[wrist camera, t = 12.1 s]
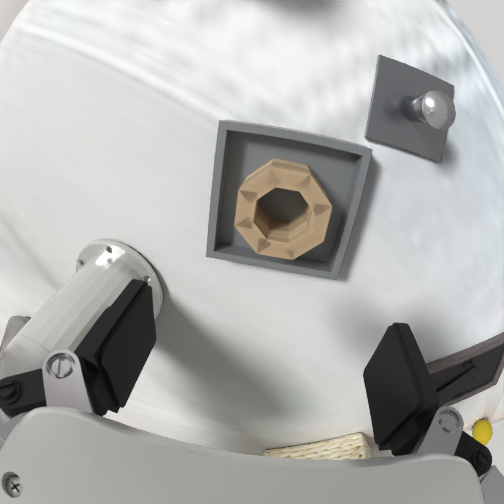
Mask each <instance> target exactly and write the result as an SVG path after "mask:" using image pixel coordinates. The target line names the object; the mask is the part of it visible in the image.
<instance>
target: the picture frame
mask: <svg viewBox="0 0 504 504" xmlns="http://www.w3.org/2000/svg"><path fill="white" fill-rule="evenodd" d="M426 366H427V369H428V371H429V374H430V376H431V379H432V381H433V384H434V387H435V389H436V392H437V395H438V398H439V400H440V403H439V404H438V405H439V408H441V407H444V406H450V405H452V404H455V403H457V402H459V401H462V400H464V399H466V398H469V397H471V396H473V395H475V394H478V393H480V392H482V391H484V390H486V389H488V388H490V387H492V386H494V385H496V384H497V382H498V379H499V377H500V375H501V373H502V371H503V368H504V332H503V333H501V334H499V335H496V336H494V337H492V338H490V339H488V340H486V341H484V342H481V343H479V344H477V345H475V346H472V347H470V348H467V349H465V350H463V351H460V352H458V353H455V354H453V355H450V356H447V357H445V358H442V359H439V360H436V361H434V362H431V363H428V364H426Z"/></svg>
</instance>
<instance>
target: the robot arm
mask: <svg viewBox="0 0 504 504" xmlns="http://www.w3.org/2000/svg"><path fill="white" fill-rule="evenodd" d="M162 303H163V292H162V288H161V284H160V282H159V280H158V277H157V275H156V274H155V272H154V270H153V269H152V267H151V266H150V265H149V264H148V262H147V261H146V260H145V259H144V258H143V257H142V256H141V255H140V254H139V253H137V252H136V251H135V250H133V249H132V248H130V247H129V246H127V245H125V244H123V243H120V242H117V241H113V240H105V239H102V240H97V241H94V242H92V243H90V244H89V245H88V246H87V247H85V248H84V249H83V250H82V252H81V253H80V254H79V256H78V259H77V264H76V273H75V274H74V275H73V276H72V277H71V278H70V279H69V280H68V281H67V282H66V283H65V284H64V285H63V286H62V287H61V288H60V289H59V290H58V291H57V292H56V293H55V294H54V295H53V296H52V297H51V298H50V299H49V300H48V301H47V302H46V303H45V304H44V305H43V306H42V307H41V308H40V309H39V310H38V311H37V313H36V314H35V315H34V316H33V317H32V318H31V319H30V320H29V321H28V322H27V323H26V324H25V326H24V327H23V328H22V329H21V330H20V331H19V332H18V333H17V335H16V336H15V337H14V338H13V339H12V340H11V342H10V343H9V344H8V345H7V347H6V348H5V350H4V352H3V355H2V358H1V362H0V504H504V477H503V475H502V474H501V473H500V471H499V470H498V469H497V467H496V466H495V465H493V466H491V464H492V456H491V453H490V451H489V449H488V448H487V447H485V446H484V445H483V444H481V443H480V442H478V441H477V440H476V439H474V438H473V437H471V436H470V435H468V434H467V433H465V432H464V431H463V426H464V423H463V419H462V416H461V415H460V413H459V412H458V411H457V410H456V409H454V408H452V407H450V406H444V407H441V408H439V405H438V404H439V403H440V400H439V398H438V395H437V392H436V389H435V387H434V384H433V381H432V379H431V376H430V374H429V371H428V369H427V366H426V364H425V361H424V359H423V356H422V354H421V352H420V349H419V347H418V345H417V342H416V340H415V338H414V335H413V333H412V331H411V329H410V327H409V325H408V324H406V323H394V324H393V325H392V326H389V327H388V329H387V331H386V332H385V334H384V336H383V338H382V340H381V342H380V343H379V345H378V347H377V349H376V351H375V352H374V354H373V356H372V357H371V359H370V361H369V362H368V364H367V366H366V367H365V369H364V373H363V378H364V383H365V388H366V393H367V398H368V404H369V409H370V415H371V420H372V426H373V433H374V439H375V443H376V444H378V446H379V451H381V450H391V451H392V455H391V456H390V457H381V458H367V459H345V460H315V459H292V458H278V457H268V456H259V455H251V454H243V453H237V452H231V451H225V450H219V449H214V448H209V447H204V446H199V445H195V444H190V443H186V442H182V441H178V440H174V439H171V438H167V437H163V436H160V435H157V434H153V433H150V432H146V431H143V430H140V429H137V428H134V427H131V426H128V425H125V424H122V423H119V422H116V421H113V420H110V419H107V418H105V417H104V415H106V413H107V411H108V410H110V411H112V412H115V413H118V410H119V408H120V407H121V408H123V407H124V406H125V405H126V402H127V400H128V398H129V396H130V394H131V392H132V390H133V388H134V385H135V383H136V381H137V379H138V377H139V375H140V373H141V371H142V369H143V367H144V365H145V363H146V361H147V358H148V356H149V354H150V352H151V350H152V348H153V346H154V344H155V341H156V330H155V319H156V317H157V316H158V314H159V312H160V310H161V308H162Z"/></svg>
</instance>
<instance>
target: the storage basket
mask: <svg viewBox="0 0 504 504" xmlns="http://www.w3.org/2000/svg"><path fill="white" fill-rule="evenodd" d="M263 456H268V457H278V458H292V459H315V460H345V459H367V458H372V457H371V450H370V448H369V446H368V443H367V442H366V439H365V437H364V435H363V434H362V433H356V434H350V435H346V436H343V437H340V438H334V439H331V440H324V441H321V442H316V443H311V444H305V445H298V446H293V447H285V448H280V449H273V450H266V451H264V453H263Z"/></svg>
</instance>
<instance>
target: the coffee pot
mask: <svg viewBox="0 0 504 504" xmlns="http://www.w3.org/2000/svg"><path fill="white" fill-rule="evenodd" d="M29 320H30V318H28V317H23V316H13V317H11V318H10V319H9V321H8V324H7V327H6V330H5V333H4V336H3V340H2V343H1V347H0V362H1V358H2V355H3V352H4V350H5V348H6V347H7V345H8V344H9V343H10V342H11V340H12V339H13V338H14V337H15V336H16V335H17V333H18V332H19V331H20V330H21V329H22V328H23V327H24V326H25V324H26V323H27V322H28V321H29Z"/></svg>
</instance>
